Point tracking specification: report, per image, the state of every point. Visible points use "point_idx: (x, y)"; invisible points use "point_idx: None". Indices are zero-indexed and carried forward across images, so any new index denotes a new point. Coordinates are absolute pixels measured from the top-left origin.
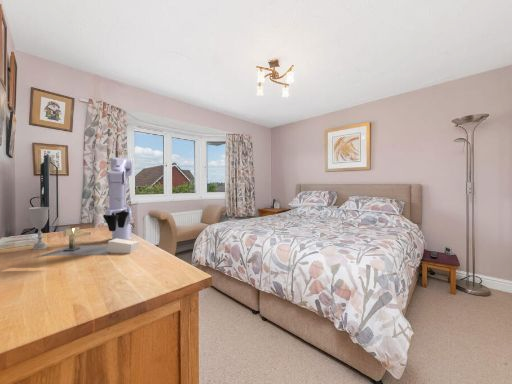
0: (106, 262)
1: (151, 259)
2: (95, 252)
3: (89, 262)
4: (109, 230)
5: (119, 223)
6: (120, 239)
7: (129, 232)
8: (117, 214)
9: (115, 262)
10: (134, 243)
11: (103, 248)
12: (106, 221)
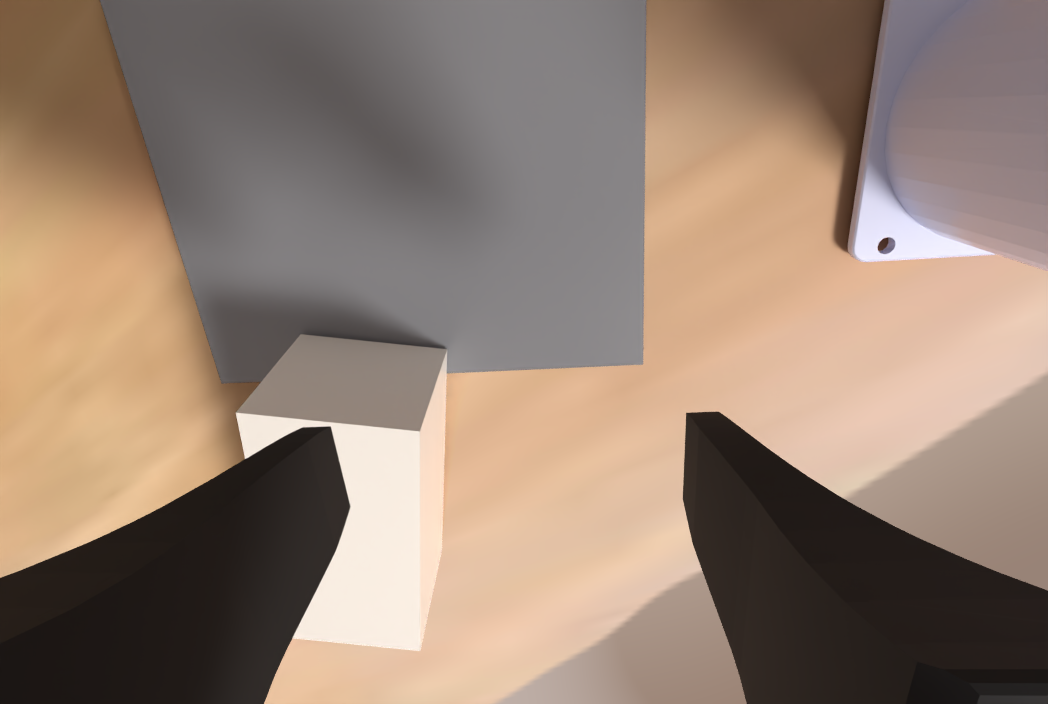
0: (114, 445)
1: (271, 697)
2: (266, 202)
3: (62, 302)
4: (290, 437)
5: (713, 492)
6: (393, 491)
7: None
8: (852, 700)
9: (138, 510)
10: (341, 641)
11: (449, 186)
12: (74, 558)
